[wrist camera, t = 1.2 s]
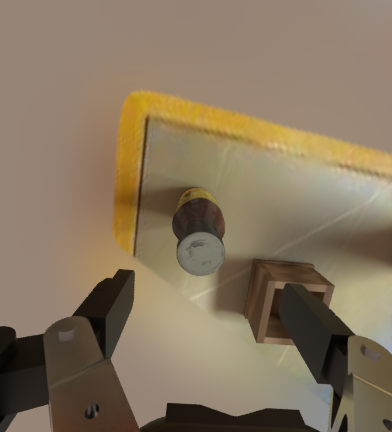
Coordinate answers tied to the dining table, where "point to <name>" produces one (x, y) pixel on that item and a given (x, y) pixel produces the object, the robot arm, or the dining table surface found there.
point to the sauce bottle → (199, 232)
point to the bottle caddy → (278, 296)
